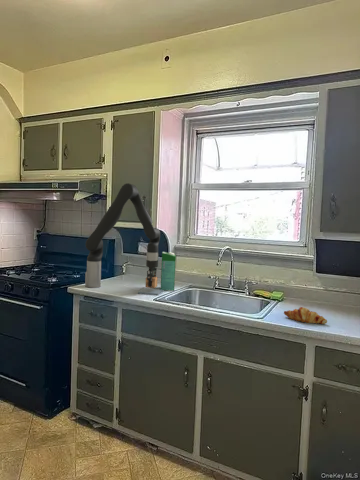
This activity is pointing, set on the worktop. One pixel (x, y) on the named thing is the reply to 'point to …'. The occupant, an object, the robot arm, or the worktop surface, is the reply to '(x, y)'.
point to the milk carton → (168, 271)
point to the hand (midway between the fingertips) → (151, 285)
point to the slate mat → (150, 291)
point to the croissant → (305, 316)
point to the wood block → (154, 282)
